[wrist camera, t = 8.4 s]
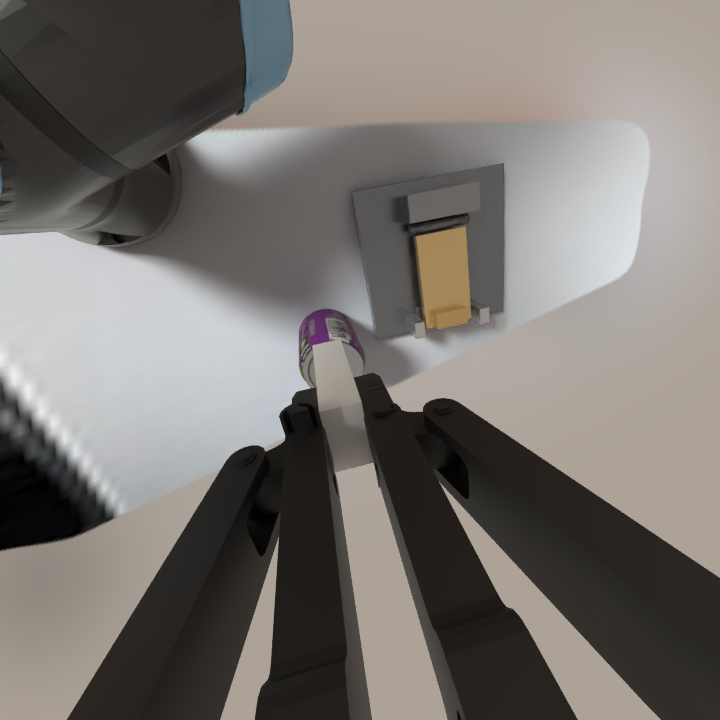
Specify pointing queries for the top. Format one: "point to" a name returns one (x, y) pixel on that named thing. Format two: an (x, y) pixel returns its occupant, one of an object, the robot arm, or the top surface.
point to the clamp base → (423, 203)
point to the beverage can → (327, 329)
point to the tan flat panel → (443, 271)
